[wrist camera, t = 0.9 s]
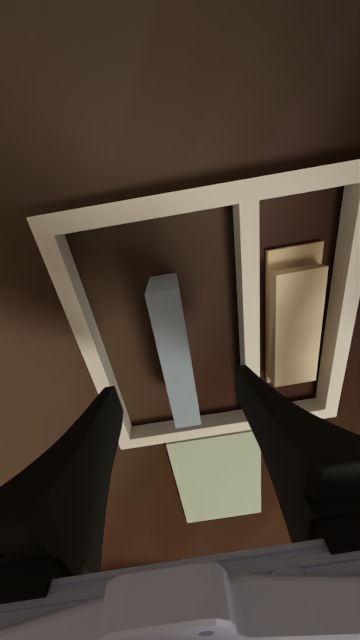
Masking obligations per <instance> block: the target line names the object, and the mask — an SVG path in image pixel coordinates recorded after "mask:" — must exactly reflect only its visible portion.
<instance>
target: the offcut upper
mask: <svg viewBox="0 0 360 640" xmlns="http://www.w3.org/2000/svg"><path fill="white" fill-rule="evenodd" d="M328 267H329V266H326V265H322V264H319V263H316V264H310V265H305V266H299V267H294V268H288V269H283V270H277V271H272V272H269V379H270V381H271V382H272V384H273V385H274V387H279V386H285V385H291V384H297V383H303V382H309V381H315V380H316V374H317V365H318V356H319V348H320V339H321V330H322V321H323V312H324V303H325V294H326V285H327V276H328Z"/></svg>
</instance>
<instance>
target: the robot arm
mask: <svg viewBox="0 0 360 640" xmlns="http://www.w3.org/2000/svg"><path fill="white" fill-rule="evenodd" d="M235 377H236V393H237V396H238V399H239V402H240V405H241V408H242V410H243V413H244V415H245V417H246V419H247V421H248V423H249V426H250V428H251V430H252V432H253V434H254V436H255V439H256V441H257V443H258V445H259V447H260V450H261V452H262V455H263V458H264V460H265V463H266V466H267V469H268V472H269V475H270V477H271V480H272V483H273V486H274V489H275V492H276V495H277V498H278V501H279V504H280V507H281V510H282V513H283V516H284V519H285V522H286V526H287V529H288V532H289V535H290V538H291V541H292V543H289V544H283V545H276V546H270V547H263V548H256V549H250V550H243V551H236V552H230V553H223V554H216V555H210V556H203V557H196V558H190V559H183V560H176V561H170V562H163V563H156V564H150V565H143V566H137V567H130V568H123V569H117V570H110V571H103V572H100V567H101V555H102V543H103V533H104V523H105V514H106V506H107V498H108V491H109V484H110V477H111V472H112V467H113V463H114V459H115V455H116V450H117V446H118V442H119V438H120V434H121V429H122V422H123V412H124V410H123V408H122V405H121V402H120V399H119V397H118V394H117V391H116V388H115V386H109V387H104V388H103V390H102V391H101V392H100V393H99V394H98V396H97V397H96V398H95V399H94V401H93V402H92V403H91V404H90V406H89V407H88V408H87V409H86V410H85V412H84V413H83V414H82V415H81V416H80V417H79V418H78V420H77V421H76V422H75V423H74V424H73V425H72V426H71V427H70V428H69V429H68V430H67V432H66V433H65V434H64V435H63V436H62V437H61V438H60V439H58V440H57V441H56V442H55V443H54V444H53V445H52V446H51V447H50V448H49V449H48V450H47V451H45V452H44V453H43V454H42V455H41V456H40V457H38V458H37V459H36V460H35V461H34V462H33V463H31V464H30V465H29V466H28V467H26V468H25V469H24V470H23V471H21V472H20V473H19V474H17V475H16V476H15V477H13V478H12V479H11V480H9V481H8V482H6V483H5V484H4V485H2V486H1V487H0V640H360V435H358V434H355V433H353V432H350V431H348V430H345V429H343V428H341V427H339V426H336V425H334V424H332V423H330V422H328V421H326V420H323V419H321V418H320V417H318V416H316V415H314V414H312V413H310V412H308V411H306V410H305V409H303V408H301V407H300V406H298V405H296V404H295V403H293V402H291V401H290V400H288V399H287V398H286V397H284V396H283V395H281V394H280V393H279V392H277V391H276V390H275V389H273V388H272V387H271V386H270V385H268V384H267V383H266V382H265V381H263V380H262V379H261V378H260V377H259V376H258V375H257V374H255V373H254V372H253V371H252V370H251V369H250V368H249V367H248V366H247V365H238V366H235Z"/></svg>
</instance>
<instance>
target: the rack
mask: <svg viewBox="0 0 360 640" xmlns="http://www.w3.org/2000/svg"><path fill="white" fill-rule="evenodd" d="M340 186H344V192H343V199H342V206H341V214H340V221H339V228H338V236H337V243H336V251H335V258H334V265H333V273H332V280H331V288H330V295H329V302H328V310H327V317H326V324H325V332H324V339H323V347H322V354H321V361H320V369H319V376H318V384H317V391H316V398H311V399H305V400H299V401H292V402H293V403H295V404H296V405H298V406H300V407H301V408H303V409H305V410H306V411H308V412H310V413H312V414H314V415H316V416H318V417H320V418H321V419H324V418H330V417H336V415H337V410H338V405H339V399H340V394H341V389H342V384H343V379H344V374H345V369H346V364H347V359H348V354H349V349H350V344H351V338H352V333H353V328H354V323H355V318H356V313H357V308H358V303H359V298H360V159H357V160H352V161H346V162H340V163H335V164H329V165H323V166H317V167H312V168H306V169H300V170H295V171H289V172H283V173H277V174H272V175H266V176H260V177H255V178H249V179H243V180H237V181H232V182H226V183H220V184H215V185H209V186H203V187H197V188H192V189H186V190H180V191H175V192H169V193H163V194H157V195H152V196H146V197H140V198H135V199H129V200H123V201H118V202H112V203H106V204H100V205H95V206H89V207H83V208H78V209H72V210H66V211H60V212H55V213H49V214H43V215H38V216H32V217H26V218H27V221H28V223H29V226H30V228H31V231H32V233H33V235H34V238H35V240H36V243H37V245H38V248H39V250H40V253H41V255H42V257H43V260H44V262H45V265H46V267H47V270H48V272H49V275H50V277H51V280H52V282H53V284H54V287H55V289H56V292H57V294H58V297H59V299H60V302H61V304H62V306H63V309H64V311H65V314H66V316H67V319H68V321H69V324H70V326H71V328H72V331H73V333H74V336H75V338H76V341H77V343H78V346H79V348H80V350H81V353H82V355H83V358H84V360H85V363H86V365H87V368H88V370H89V372H90V375H91V377H92V380H93V382H94V385H95V387H96V390H97V392H98V394H99V393H100V392H101V391H102V390H103V388H104V387H109V386H115V388H116V391H117V394H118V397H119V399H120V402H121V405H122V408H123V410H124V412H123V422H122V429H121V434H120V438H119V442H118V443H119V446H120V448H121V450H122V449H129V448H135V447H142V446H148V445H155V444H161V443H168V442H174V441H181V440H187V439H194V438H200V437H207V436H213V435H220V434H226V433H233V432H239V431H246V430H251V428H250V426H249V423H248V421H247V419H246V417H245V415H244V413H243V410H242V409H241V410H234V411H228V412H221V413H215V414H209V415H202V416H200V419H201V425H195V426H189V427H182V428H176V427H175V422H174V420H170V421H164V422H157V423H151V424H144V425H138V426H132V424H131V421H130V418H129V416H128V413H127V410H126V407H125V404H124V401H123V399H122V396H121V393H120V390H119V387H118V384H117V382H116V379H115V376H114V373H113V370H112V367H111V365H110V362H109V359H108V356H107V353H106V350H105V348H104V345H103V342H102V339H101V336H100V333H99V331H98V328H97V325H96V322H95V319H94V316H93V314H92V311H91V308H90V305H89V302H88V299H87V296H86V294H85V291H84V288H83V285H82V282H81V279H80V277H79V274H78V271H77V268H76V265H75V262H74V260H73V257H72V254H71V251H70V248H69V245H68V243H67V240H66V237H65V234H68V233H74V232H80V231H85V230H91V229H97V228H103V227H109V226H114V225H120V224H126V223H132V222H137V221H143V220H149V219H155V218H161V217H166V216H172V215H178V214H184V213H189V212H195V211H201V210H207V209H213V208H218V207H224V206H230V205H233V224H234V244H235V264H236V284H237V304H238V324H239V344H240V364H241V365H247V366H248V367H249V368H250V369H251V370H252V371H253V372H254V373H255V374H257V375H258V376H259V377H260V284H259V200H265V199H270V198H276V197H282V196H288V195H293V194H299V193H305V192H311V191H317V190H322V189H328V188H334V187H340Z"/></svg>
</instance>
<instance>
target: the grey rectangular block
mask: <svg viewBox="0 0 360 640" xmlns="http://www.w3.org/2000/svg"><path fill="white" fill-rule="evenodd" d="M144 295H145V299H146V303H147V308H148V312H149V316H150V320H151V325H152V329H153V333H154V337H155V342H156V346H157V350H158V354H159V359H160V363H161V367H162V371H163V376H164V380H165V384H166V388H167V393H168V397H169V401H170V405H171V410H172V414H173V418H174V422H175V427H176V428H182V427H189V426H195V425H201V419H200V413H199V406H198V400H197V394H196V388H195V382H194V376H193V370H192V364H191V358H190V352H189V345H188V339H187V333H186V327H185V321H184V315H183V309H182V303H181V297H180V291H179V285H178V279H177V273H170V274H164V275H158V276H152V277H150V278H149V281H148V284H147V287H146V291H145V294H144Z"/></svg>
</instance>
